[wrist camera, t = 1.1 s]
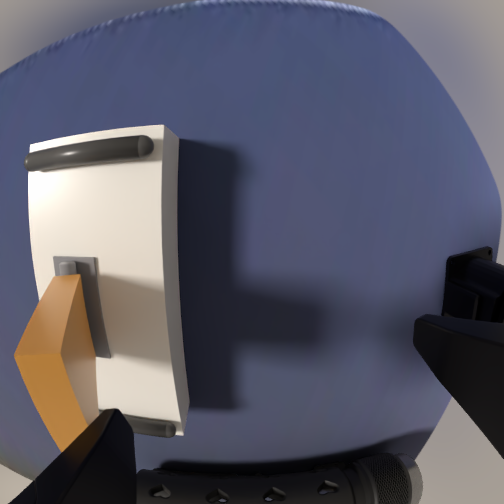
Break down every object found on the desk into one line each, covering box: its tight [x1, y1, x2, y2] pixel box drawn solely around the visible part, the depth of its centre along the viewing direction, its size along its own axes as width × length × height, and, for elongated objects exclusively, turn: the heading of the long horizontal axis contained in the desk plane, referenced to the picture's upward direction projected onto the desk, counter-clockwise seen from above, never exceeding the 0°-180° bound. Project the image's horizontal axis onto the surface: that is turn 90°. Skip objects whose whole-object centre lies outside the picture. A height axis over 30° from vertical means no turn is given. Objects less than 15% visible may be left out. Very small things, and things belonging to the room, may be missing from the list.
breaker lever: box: [14, 261, 99, 452], centre depth 10 cm, size 2×6×9 cm, turn 178°
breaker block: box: [24, 125, 190, 438], centre depth 16 cm, size 9×20×5 cm, turn 178°
